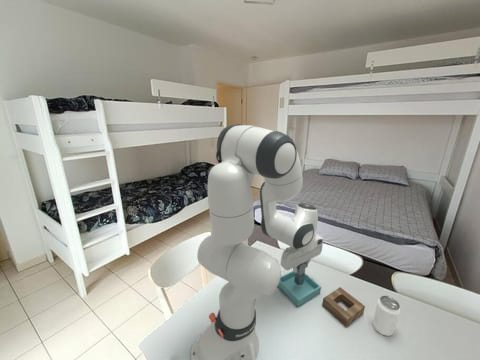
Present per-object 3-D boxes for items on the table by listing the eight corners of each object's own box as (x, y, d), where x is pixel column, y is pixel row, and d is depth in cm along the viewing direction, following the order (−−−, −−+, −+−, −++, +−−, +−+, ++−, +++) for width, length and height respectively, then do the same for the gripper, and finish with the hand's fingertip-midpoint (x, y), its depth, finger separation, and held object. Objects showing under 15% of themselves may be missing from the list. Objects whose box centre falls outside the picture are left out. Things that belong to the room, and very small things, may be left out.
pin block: (346, 327, 77) (347, 319, 76) (322, 305, 86) (323, 297, 85) (363, 313, 83) (365, 306, 81) (338, 294, 91) (340, 287, 90)
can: (388, 340, 73) (396, 314, 69) (368, 325, 78) (375, 300, 74) (396, 329, 77) (404, 304, 73) (376, 316, 82) (383, 291, 78)
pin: (298, 286, 90) (301, 267, 86) (292, 280, 93) (294, 261, 90) (305, 282, 92) (308, 263, 88) (298, 276, 95) (300, 258, 92)
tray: (297, 307, 85) (298, 300, 84) (276, 285, 96) (277, 278, 94) (320, 294, 91) (321, 286, 90) (297, 274, 102) (298, 267, 101)
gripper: (289, 254, 78) (286, 284, 82) (326, 237, 88) (322, 265, 92) (278, 245, 83) (276, 273, 88) (314, 230, 93) (311, 256, 97)
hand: (300, 269), depth 90 cm, fingers closed on pin, 4 cm apart
